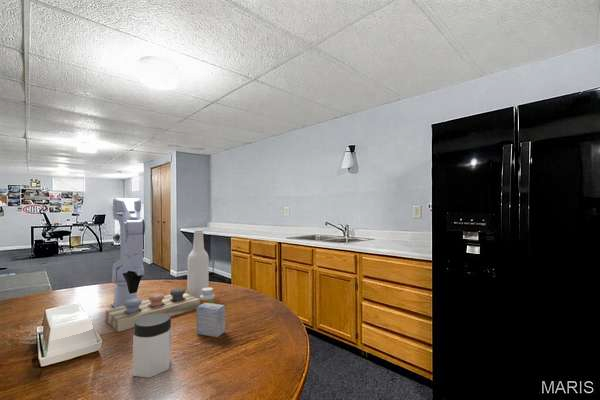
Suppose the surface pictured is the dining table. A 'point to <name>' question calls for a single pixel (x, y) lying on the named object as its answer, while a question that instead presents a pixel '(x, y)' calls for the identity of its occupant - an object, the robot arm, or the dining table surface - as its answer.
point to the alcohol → (197, 266)
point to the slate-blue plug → (132, 305)
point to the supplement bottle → (207, 296)
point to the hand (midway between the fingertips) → (133, 292)
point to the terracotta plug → (156, 299)
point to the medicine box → (211, 319)
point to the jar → (151, 345)
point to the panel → (150, 311)
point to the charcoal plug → (177, 294)
